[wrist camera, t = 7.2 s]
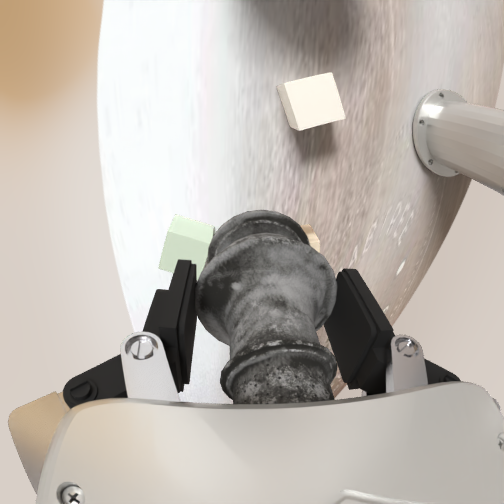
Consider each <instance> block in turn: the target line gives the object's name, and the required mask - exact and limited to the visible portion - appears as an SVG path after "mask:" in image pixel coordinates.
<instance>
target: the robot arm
mask: <svg viewBox="0 0 504 504" xmlns="http://www.w3.org/2000/svg"><path fill="white" fill-rule="evenodd" d="M413 139H414V144H415V148H416V151H417V153H418V156H419V158H420V159H421V161H422V163H423V164H424V165H425V166H426V167H427V168H428V169H429V170H430V171H432V172H433V173H435V174H437V175H440V176H443V177H452V176H456V175H458V174H460V173H461V174H463V175H465V176H467V177H469V178H471V179H473V180H475V181H477V182H480V183H481V184H483V185H485V186H487V187H489V188H491V189H493V190H495V191H497V192H498V193H500V194H502V195H504V110H501V109H497V108H492V107H487V106H481V105H476V104H469V103H467V101H466V100H465V99H464V98H463V97H462V96H461V95H459V94H458V93H456V92H454V91H451V90H444V89H440V90H435V91H432V92H430V93H429V94H427V95H426V96H425V97H424V98H423V99H422V100H421V102H420V103H419V105H418V107H417V110H416V112H415V116H414V121H413ZM336 282H337V297H336V302H335V305H334V307H333V310H332V312H331V315H330V316H329V317H328V319H327V320H326V321H325V323H324V327H325V330H326V333H327V335H328V338H329V341H330V344H331V347H332V350H333V353H334V355H335V358H336V361H337V364H338V367H339V370H340V373H341V376H342V379H343V381H344V383H347V385H348V388H349V390H350V389H358V388H360V389H362V390H363V391H362V397H356V398H348V399H340V400H330V401H319V402H306V403H288V404H212V403H193V402H181V401H180V398H179V395H178V393H179V392H180V391H181V392H183V389H184V384H189V382H190V372H191V363H192V355H193V346H194V338H195V330H196V322H197V312H196V309H195V286H196V284H197V266H196V264H192V261H191V260H182V259H178V261H177V264H176V267H175V270H174V274H173V277H172V280H171V284H170V287H169V290H163V289H157V290H156V292H155V295H154V298H153V301H152V304H151V307H150V310H149V313H148V316H147V319H146V322H145V325H144V329H143V332H136V333H132V334H131V335H129V336H127V337H126V338H125V339H124V340H123V342H122V343H121V348H120V351H121V354H120V355H118V356H116V357H114V358H112V359H110V360H108V361H106V362H104V363H102V364H100V365H98V366H96V367H94V368H92V369H90V370H88V371H86V372H84V373H82V374H80V375H78V376H75V377H74V378H72V379H71V380H69V381H68V382H67V383H66V385H65V387H64V389H63V392H61V393H58V394H57V393H56V392H53V393H51V394H48V395H46V396H44V397H42V398H39V399H37V400H35V401H32V402H30V403H28V404H25V405H23V406H21V407H18V408H16V409H15V410H14V411H12V413H11V414H10V416H9V420H8V425H9V429H10V432H11V435H12V438H13V441H14V444H15V446H16V449H17V452H18V454H19V457H20V459H21V462H22V464H23V467H24V469H25V471H26V473H27V476H28V478H29V480H30V482H31V484H32V486H33V488H34V490H35V492H36V494H37V498H36V504H504V417H503V415H502V414H501V412H500V406H499V404H498V402H497V401H496V400H495V399H494V398H492V397H491V396H490V395H489V393H488V392H487V391H486V390H485V389H484V388H483V387H481V386H479V385H476V384H473V383H469V382H463V381H460V379H459V378H458V377H457V376H456V375H455V374H453V373H451V372H449V371H447V370H445V369H444V368H442V367H439V366H438V365H436V364H434V363H432V362H430V361H428V360H426V359H424V355H423V350H422V347H421V345H420V344H419V343H418V342H417V341H416V340H415V339H414V338H412V337H410V336H406V335H397V336H395V335H394V333H393V328H392V326H391V325H390V323H389V321H388V319H387V318H386V316H385V314H384V313H383V311H382V309H381V308H380V306H379V304H378V303H377V301H376V299H375V298H374V296H373V295H372V293H371V291H370V290H369V288H368V287H367V285H366V283H365V282H364V280H363V279H362V277H361V276H360V274H359V272H358V271H357V270H356V269H343V270H342V272H339V273H338V275H337V278H336Z"/></svg>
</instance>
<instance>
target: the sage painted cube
mask: <svg viewBox="0 0 504 504" xmlns="http://www.w3.org/2000/svg"><path fill="white" fill-rule="evenodd" d="M213 230H214V226H212V225H209V224H206V223H202V222H199V221H196V220H193V219H190V218H186V217H183V216H180V215H177V214H175V216H174V219H173V221H172V223H171V225H170V227H169V229H168V232H167V236H166V240H165V243H164V247H163V251H162V255H161V260H160V264H159V269H162V270H165V271H168V272H172V273H174V270H175V267H176V264H177V261H178V259H182V260H191V261H192V264H196V266H197V280H198V279H199V277H200V274H201V272H202V271H203V268H204V265H205V262H206V259H207V256H208V247H209V245H210V243H211V240H212V238H213Z"/></svg>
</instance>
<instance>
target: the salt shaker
mask: <svg viewBox="0 0 504 504" xmlns="http://www.w3.org/2000/svg"><path fill="white" fill-rule="evenodd" d="M207 262H208V264H207V266H206V267H205V268H204V269H203V271H202V272H201V274H200V277H199V279H198V281H197V284H196V286H195V309H196V312H197V316H198V319H199V320H200V322H201V323H202V325H203V326H204V328H205V329H206V330H207V331H208V332H209V333H210V334H211V335H213V336H214V337H215V338H216V339H217V340H219V341H221V342H223V343H225V344H227V345H229V346H230V361H228V362H227V364H226V365H225V367H224V368H223V370H222V371H221V378H220V384H221V387H222V390H223V391H224V392H225V394H226V395H227V396H228V397H229V398H231V399H232V400H233V404H288V403H306V402H319V401H330V400H334V396H333V393H332V390H331V386H330V384H331V382H332V381H333V379H334V377H335V376H336V372H337V363H336V359H335V356H334V355H333V354H332V353H331V352H330V351H329V349H328V348H326V347H324V346H322V345H320V342H319V339H318V336H317V333H316V331H317V330H318V329H320V328H321V327H322V325H323V324H324V323H325V321H326V320H327V319H328V317H329V316H330V315H331V312H332V310H333V307H334V305H335V302H336V297H337V282H336V278H335V274H334V271H333V269H332V268H331V266H330V265H329V263H328V262H327V260H326V259H325V257H324V256H323V255H321V254H320V253H319V252H318V251H316V250H315V249H314V248H312V247H311V246H310V243H309V239H308V236H307V235H306V233H305V232H304V230H303V229H302V228H301V226H300V225H299V224H298V223H296V222H295V221H294V220H293V219H291V218H290V217H288V216H286V215H283V214H281V213H279V212H275V211H268V210H256V211H247V212H245V213H242V214H239V215H237V216H234V217H233V218H231V219H230V220H228V221H227V222H226V223H224V224H223V225H222V226H221V227H220V228H219V229H218V231H217V232H216V233H215V234H214V236H213V238H212V240H211V243H210V245H209V247H208V257H207Z"/></svg>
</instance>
